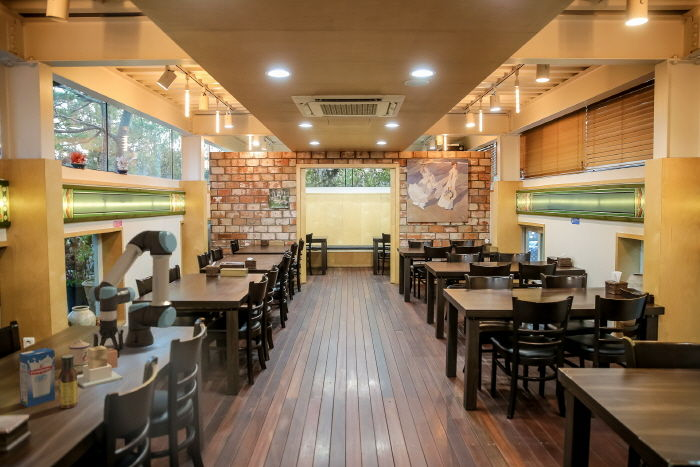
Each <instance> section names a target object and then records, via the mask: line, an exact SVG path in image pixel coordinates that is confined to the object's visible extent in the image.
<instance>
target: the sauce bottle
mask: <svg viewBox="0 0 700 467" xmlns="http://www.w3.org/2000/svg"><path fill="white" fill-rule="evenodd" d="M73 359H74V356H73V355H69V354H65V355H62V356H61V362H62V363H61V370H60V372H59V375H58V403H59V407H60V408H61V409H71V408H74V407H76V406H77V405H78V399H79V398H78V397H79V396H78V395H79V392H78V391H79V390H78V387H79V386H78V383H77V375H78V372H77V370H76V369H75V367H74V365H73Z"/></svg>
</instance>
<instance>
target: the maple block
mask: <svg viewBox="0 0 700 467" xmlns="http://www.w3.org/2000/svg"><path fill="white" fill-rule="evenodd" d="M107 349H108V348H107V347H106V346H105V345H104V346H99V345H98V346H97V347H93V346H92V347H89V348H88V363H87V365H88V366H89V367H91V368H92V369H95V368H99V367H104V366H107Z"/></svg>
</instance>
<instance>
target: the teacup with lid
mask: <svg viewBox="0 0 700 467" xmlns="http://www.w3.org/2000/svg"><path fill="white" fill-rule="evenodd" d="M90 346H91V344H90V343H89V342H87V341H83V340H82V339H77V340H76V342H74V343H70V345H69V347H68V350H69V352H68V353H69V354H68V355H73V356H74V359H73V365H74V366H75V367H76V366H84V365H88V348H90ZM74 366H73V367H74Z"/></svg>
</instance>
